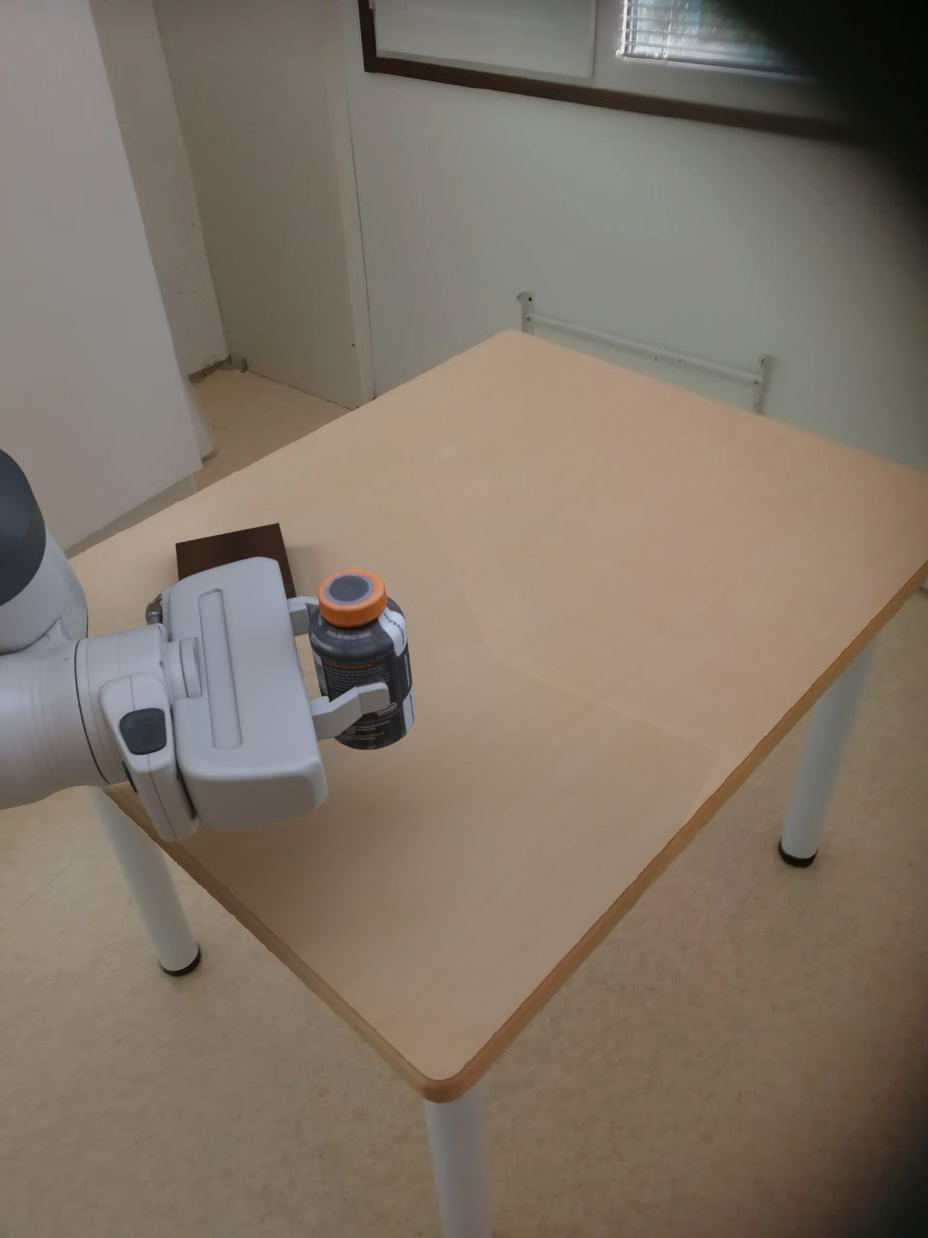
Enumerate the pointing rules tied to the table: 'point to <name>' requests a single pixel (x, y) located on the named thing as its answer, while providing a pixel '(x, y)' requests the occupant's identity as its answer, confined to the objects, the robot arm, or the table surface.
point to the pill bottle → (363, 653)
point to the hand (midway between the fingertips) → (375, 650)
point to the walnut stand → (235, 552)
